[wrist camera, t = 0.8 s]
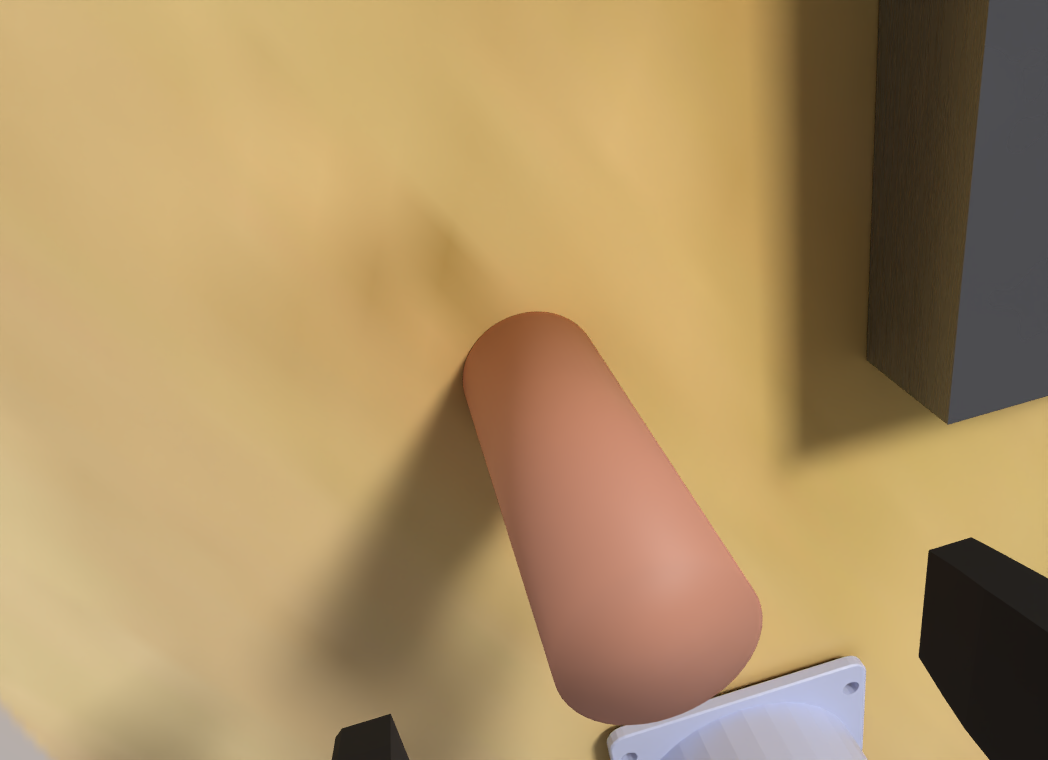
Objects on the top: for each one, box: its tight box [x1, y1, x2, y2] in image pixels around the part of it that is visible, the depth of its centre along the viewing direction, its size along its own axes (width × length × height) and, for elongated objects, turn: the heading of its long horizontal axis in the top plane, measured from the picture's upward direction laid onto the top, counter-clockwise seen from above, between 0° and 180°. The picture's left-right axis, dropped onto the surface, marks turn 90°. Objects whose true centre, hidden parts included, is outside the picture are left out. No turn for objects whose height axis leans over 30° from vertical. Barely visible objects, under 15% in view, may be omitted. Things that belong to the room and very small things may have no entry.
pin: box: [463, 312, 762, 725], centre depth 15 cm, size 3×3×8 cm
